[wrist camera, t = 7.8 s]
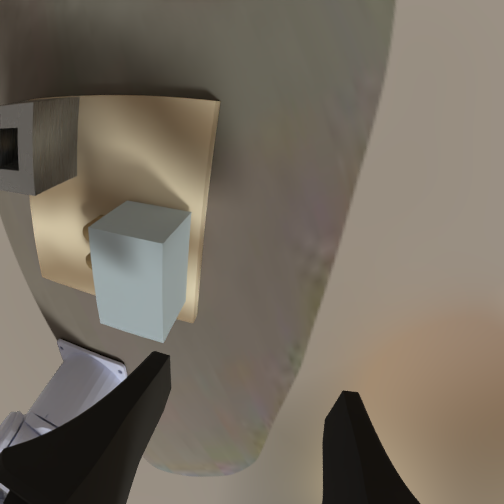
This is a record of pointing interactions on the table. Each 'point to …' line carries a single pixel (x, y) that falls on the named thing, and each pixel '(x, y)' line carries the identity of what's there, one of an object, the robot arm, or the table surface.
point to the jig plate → (128, 180)
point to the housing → (140, 267)
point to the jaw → (38, 144)
